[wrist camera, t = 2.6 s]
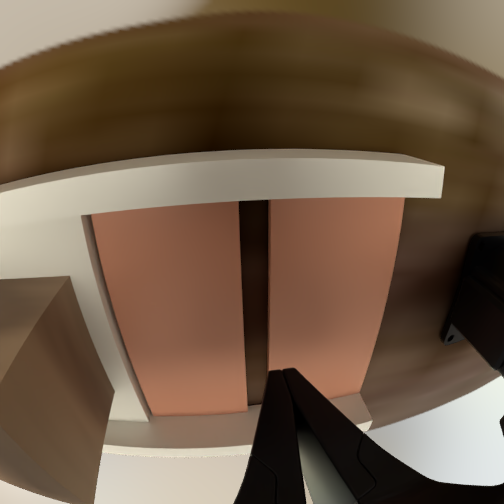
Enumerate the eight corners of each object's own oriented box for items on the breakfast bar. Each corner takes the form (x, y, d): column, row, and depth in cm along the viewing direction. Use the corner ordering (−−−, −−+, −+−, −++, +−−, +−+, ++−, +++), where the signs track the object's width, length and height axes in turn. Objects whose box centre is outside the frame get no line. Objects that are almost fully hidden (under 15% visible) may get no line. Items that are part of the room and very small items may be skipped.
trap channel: (402, 154, 10) (444, 166, 7) (353, 398, 15) (367, 430, 13) (-122, 230, 6) (-142, 244, 4) (-53, 383, 12) (-65, 403, 10)
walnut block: (69, 275, 9) (-13, 409, 4) (115, 391, 12) (93, 508, 6) (-32, 280, 8) (-107, 367, 3) (18, 381, 11) (-19, 470, 6)
